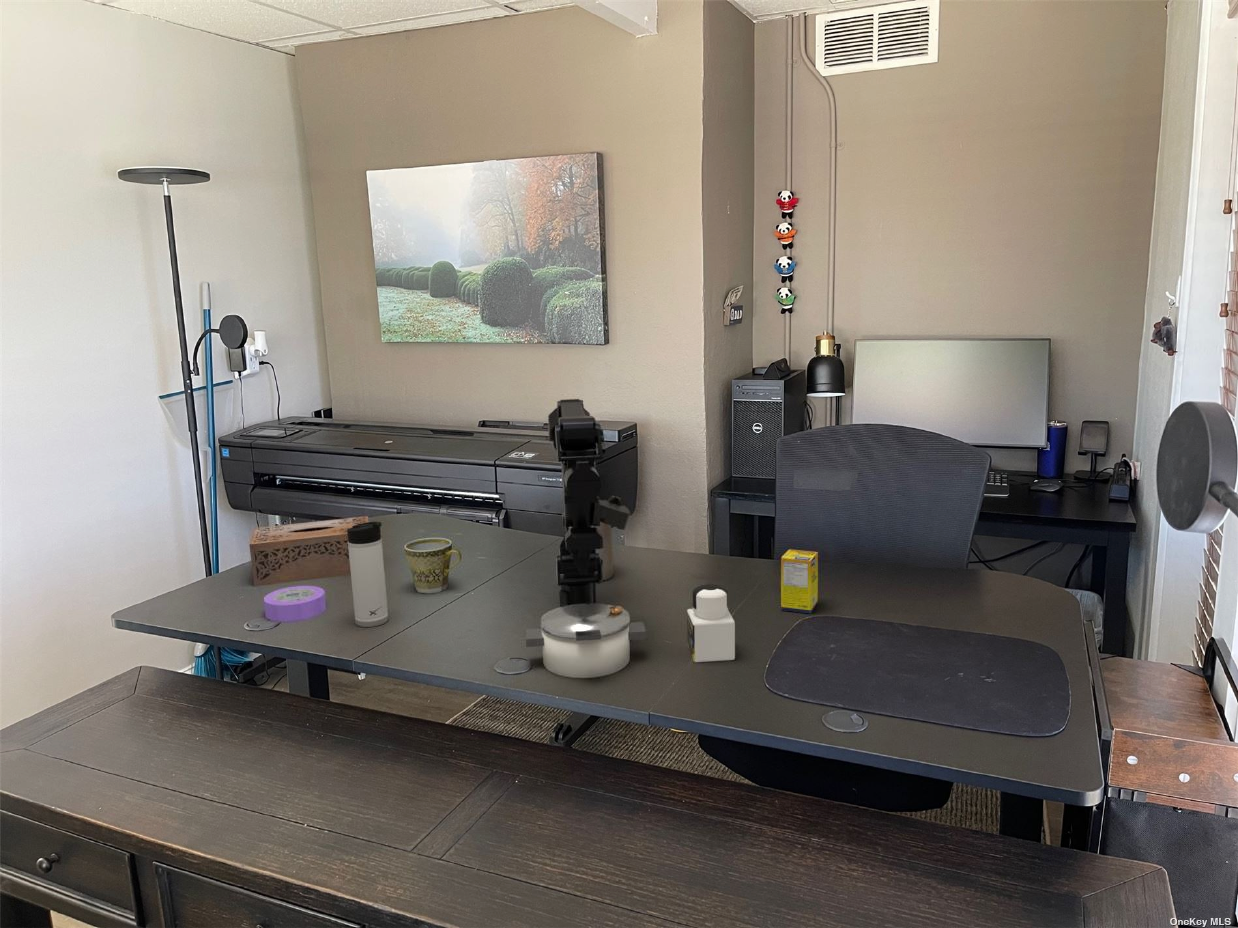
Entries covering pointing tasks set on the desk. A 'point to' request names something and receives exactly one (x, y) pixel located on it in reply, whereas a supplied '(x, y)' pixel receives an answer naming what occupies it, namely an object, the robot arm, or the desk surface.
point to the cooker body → (586, 652)
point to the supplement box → (799, 581)
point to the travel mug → (367, 574)
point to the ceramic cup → (430, 563)
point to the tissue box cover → (301, 551)
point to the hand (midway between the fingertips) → (583, 574)
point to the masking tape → (294, 603)
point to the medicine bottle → (710, 625)
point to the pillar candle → (606, 550)
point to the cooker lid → (585, 621)
